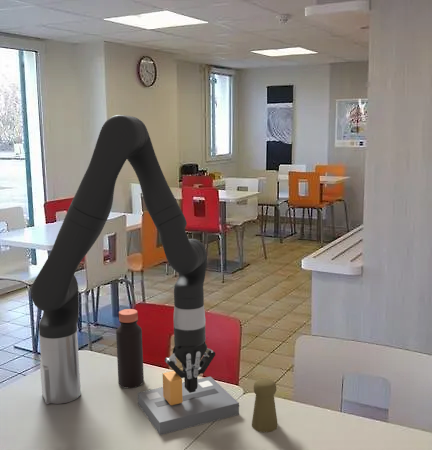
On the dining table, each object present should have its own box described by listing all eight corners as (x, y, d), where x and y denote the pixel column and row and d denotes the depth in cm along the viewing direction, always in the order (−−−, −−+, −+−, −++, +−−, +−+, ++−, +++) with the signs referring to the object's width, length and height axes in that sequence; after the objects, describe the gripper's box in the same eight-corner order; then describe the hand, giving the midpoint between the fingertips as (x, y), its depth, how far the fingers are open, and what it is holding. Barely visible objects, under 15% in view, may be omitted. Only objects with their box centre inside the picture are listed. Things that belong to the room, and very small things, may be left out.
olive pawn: (276, 433, 127) (277, 387, 126) (249, 430, 129) (249, 385, 127) (279, 419, 133) (279, 375, 131) (253, 417, 134) (253, 373, 133)
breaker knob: (170, 405, 134) (170, 381, 133) (163, 396, 138) (162, 373, 137) (182, 402, 135) (181, 378, 134) (174, 393, 139) (174, 370, 138)
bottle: (113, 384, 152) (109, 313, 149) (130, 375, 158) (127, 306, 154) (131, 391, 149) (128, 317, 145) (149, 381, 154) (146, 310, 150)
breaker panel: (160, 434, 127) (159, 422, 127) (137, 403, 142) (137, 392, 141) (238, 414, 136) (238, 402, 135) (210, 387, 150) (210, 376, 150)
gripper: (208, 314, 142) (209, 379, 145) (157, 322, 136) (160, 390, 139) (221, 323, 135) (222, 391, 138) (169, 333, 129) (171, 403, 132)
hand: (191, 390), depth 139 cm, fingers closed
